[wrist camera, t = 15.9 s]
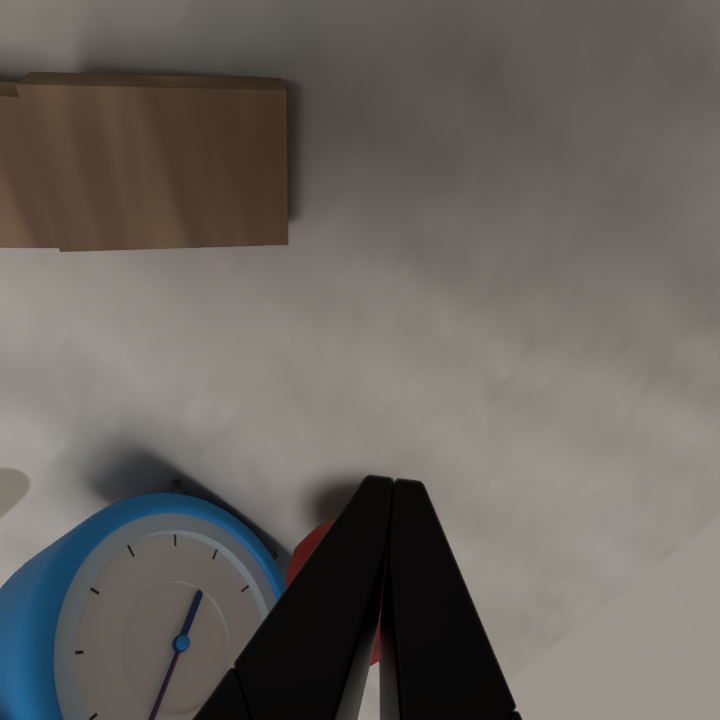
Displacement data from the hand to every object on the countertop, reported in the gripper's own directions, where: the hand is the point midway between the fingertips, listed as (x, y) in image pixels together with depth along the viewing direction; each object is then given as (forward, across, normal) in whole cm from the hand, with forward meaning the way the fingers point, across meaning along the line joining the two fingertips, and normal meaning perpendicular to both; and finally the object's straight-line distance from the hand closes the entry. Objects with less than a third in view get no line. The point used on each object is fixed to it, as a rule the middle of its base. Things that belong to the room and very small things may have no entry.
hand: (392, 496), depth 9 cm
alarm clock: (+13, +10, +19) cm, 25 cm away
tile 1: (+12, +4, -1) cm, 13 cm away
